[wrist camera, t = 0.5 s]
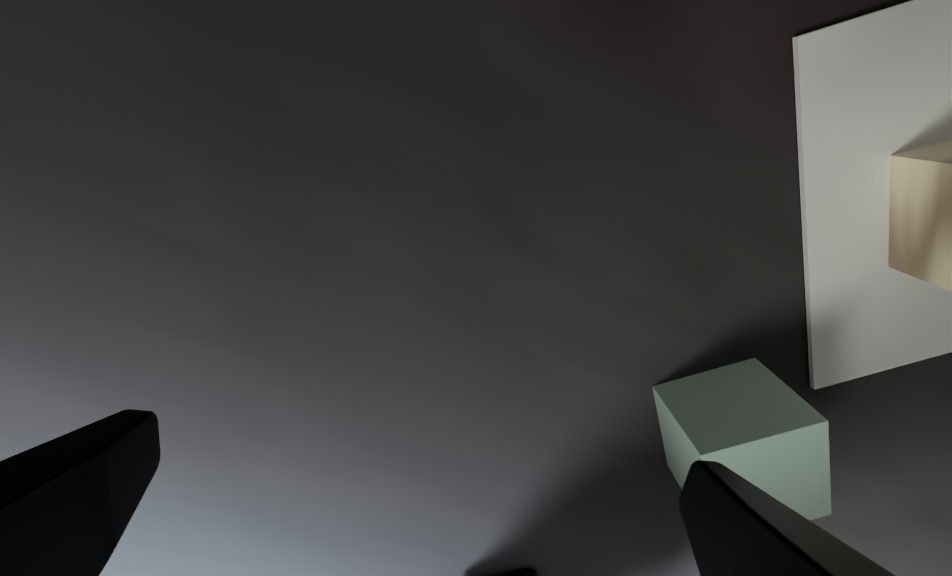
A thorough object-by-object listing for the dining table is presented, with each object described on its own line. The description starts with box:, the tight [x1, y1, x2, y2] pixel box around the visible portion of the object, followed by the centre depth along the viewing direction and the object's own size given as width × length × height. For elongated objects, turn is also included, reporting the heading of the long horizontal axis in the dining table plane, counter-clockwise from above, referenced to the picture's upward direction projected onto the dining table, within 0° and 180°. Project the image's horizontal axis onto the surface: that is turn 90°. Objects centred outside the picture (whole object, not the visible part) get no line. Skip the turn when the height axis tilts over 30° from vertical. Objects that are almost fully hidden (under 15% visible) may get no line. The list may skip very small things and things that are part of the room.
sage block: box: [652, 358, 832, 520], centre depth 23 cm, size 5×5×5 cm
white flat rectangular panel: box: [792, 0, 952, 390], centre depth 21 cm, size 16×12×1 cm
